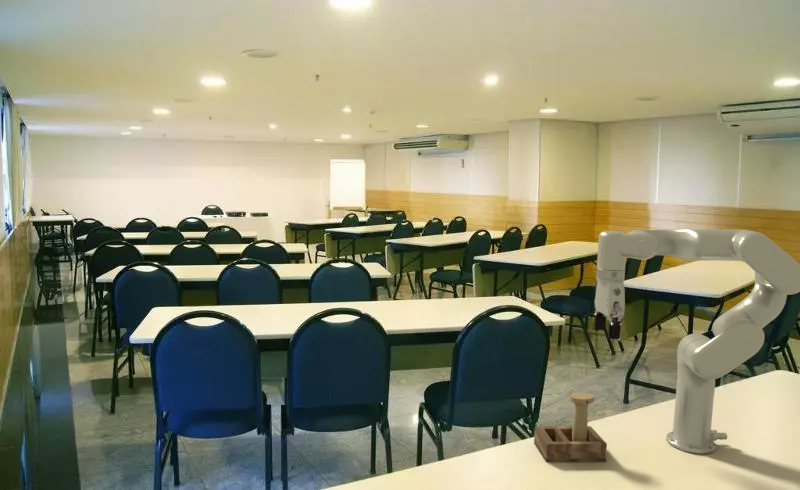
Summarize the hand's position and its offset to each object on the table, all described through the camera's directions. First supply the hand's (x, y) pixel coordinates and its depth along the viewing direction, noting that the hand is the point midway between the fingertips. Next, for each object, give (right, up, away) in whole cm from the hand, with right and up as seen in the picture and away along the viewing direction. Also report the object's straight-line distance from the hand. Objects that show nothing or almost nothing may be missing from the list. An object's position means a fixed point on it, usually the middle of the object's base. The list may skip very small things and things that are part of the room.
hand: (606, 334), depth 169 cm
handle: (-10, -30, -8) cm, 33 cm away
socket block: (-13, -31, -8) cm, 35 cm away
